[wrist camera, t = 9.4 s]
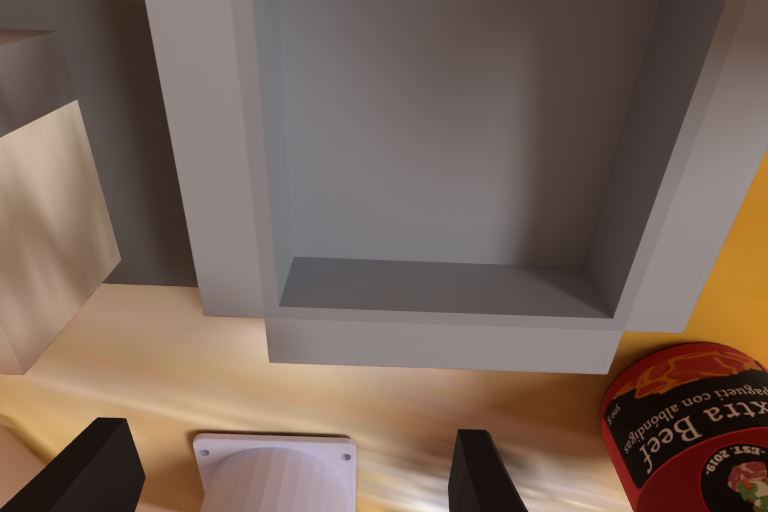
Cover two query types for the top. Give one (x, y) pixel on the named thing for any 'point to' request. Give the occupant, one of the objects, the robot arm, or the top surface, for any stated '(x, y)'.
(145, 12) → the rubber mat
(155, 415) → the top surface
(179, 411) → the top surface
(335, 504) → the robot arm
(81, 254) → the maple block
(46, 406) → the top surface
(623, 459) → the canned food
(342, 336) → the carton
